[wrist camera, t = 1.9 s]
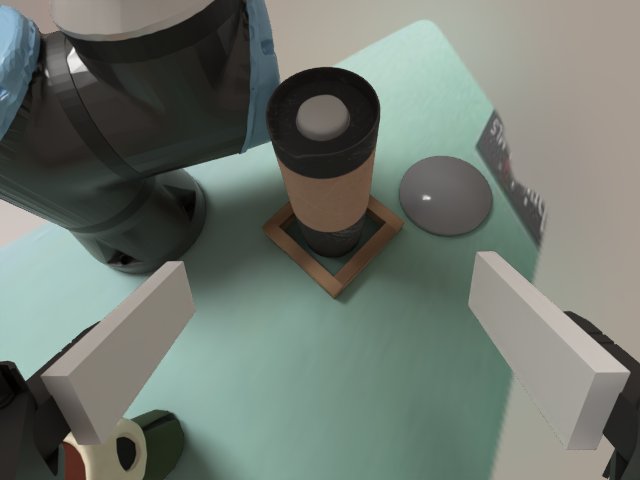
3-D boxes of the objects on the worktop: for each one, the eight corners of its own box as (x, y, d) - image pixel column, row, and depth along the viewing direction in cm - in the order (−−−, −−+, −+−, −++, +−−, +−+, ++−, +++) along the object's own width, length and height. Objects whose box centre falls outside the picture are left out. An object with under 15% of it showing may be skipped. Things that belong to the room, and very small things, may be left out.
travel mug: (358, 200, 39) (372, 58, 21) (367, 256, 37) (393, 149, 18) (299, 207, 40) (261, 72, 21) (304, 263, 37) (264, 165, 18)
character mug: (219, 443, 31) (138, 498, 18) (171, 518, 29) (46, 634, 17) (143, 379, 33) (29, 389, 21) (95, 443, 31) (-61, 495, 19)
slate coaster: (381, 198, 39) (381, 195, 39) (434, 145, 42) (435, 141, 41) (453, 254, 36) (456, 251, 35) (506, 193, 38) (510, 189, 38)
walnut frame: (265, 233, 39) (261, 227, 37) (330, 173, 41) (330, 164, 39) (334, 299, 35) (333, 295, 33) (401, 228, 38) (404, 221, 36)
